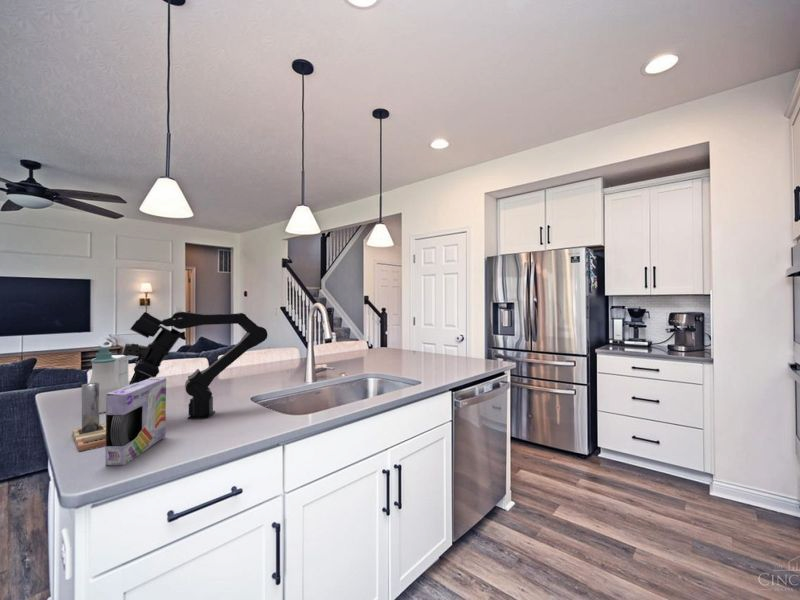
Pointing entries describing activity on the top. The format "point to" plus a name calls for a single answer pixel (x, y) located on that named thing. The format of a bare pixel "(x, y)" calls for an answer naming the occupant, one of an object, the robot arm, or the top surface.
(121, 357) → the supplement box
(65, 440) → the top surface
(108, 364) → the soap bottle
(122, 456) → the cake pan box
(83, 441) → the socket rail
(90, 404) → the steel pin
